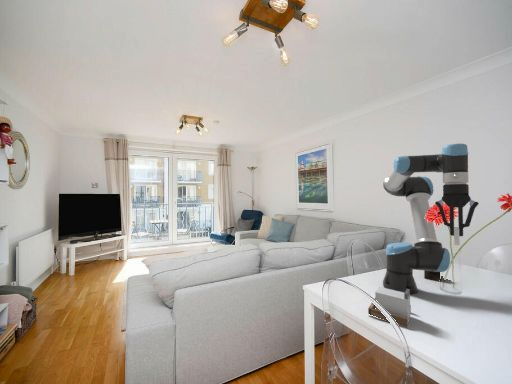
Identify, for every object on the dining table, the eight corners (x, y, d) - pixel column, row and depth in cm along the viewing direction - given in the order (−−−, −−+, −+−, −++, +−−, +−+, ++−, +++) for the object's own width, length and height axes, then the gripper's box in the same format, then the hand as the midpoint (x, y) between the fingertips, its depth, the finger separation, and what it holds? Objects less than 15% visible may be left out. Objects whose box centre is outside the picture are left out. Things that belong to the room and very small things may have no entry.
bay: (375, 303, 102) (375, 296, 102) (410, 312, 94) (410, 305, 94) (368, 315, 91) (368, 308, 91) (407, 327, 83) (406, 319, 83)
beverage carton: (443, 273, 141) (442, 263, 141) (441, 282, 127) (441, 270, 127) (427, 270, 146) (426, 260, 146) (423, 279, 132) (423, 267, 132)
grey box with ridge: (379, 307, 98) (379, 282, 98) (410, 316, 91) (409, 288, 91) (375, 314, 92) (375, 287, 93) (407, 324, 85) (407, 294, 85)
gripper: (434, 184, 90) (435, 243, 89) (480, 182, 81) (481, 248, 81) (434, 184, 95) (435, 240, 95) (477, 183, 87) (478, 244, 87)
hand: (456, 244), depth 88 cm, fingers closed
